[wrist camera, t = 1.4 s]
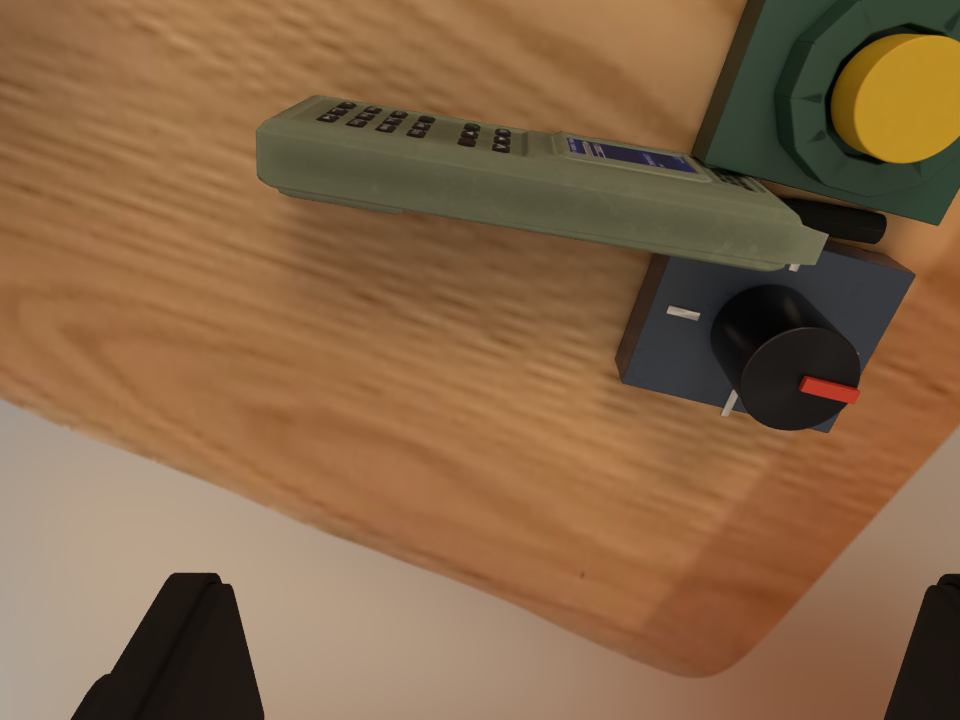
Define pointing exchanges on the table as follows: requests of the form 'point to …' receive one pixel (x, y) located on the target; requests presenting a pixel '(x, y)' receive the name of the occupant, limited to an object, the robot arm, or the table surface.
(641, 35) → the table surface
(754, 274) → the nozzle panel
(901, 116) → the yellow push button
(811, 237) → the handheld radio
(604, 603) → the table surface
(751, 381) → the knob
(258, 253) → the table surface
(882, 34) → the green button base
